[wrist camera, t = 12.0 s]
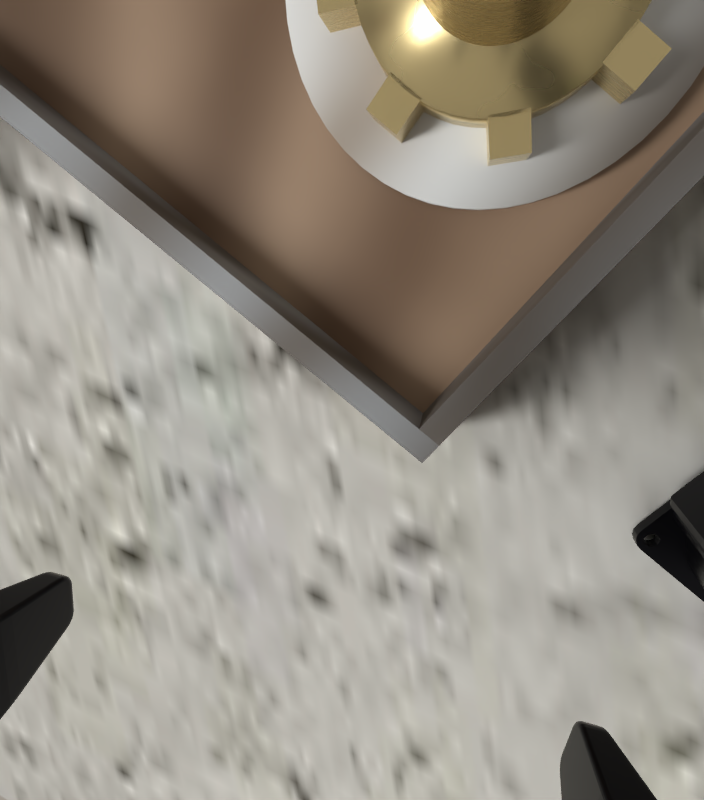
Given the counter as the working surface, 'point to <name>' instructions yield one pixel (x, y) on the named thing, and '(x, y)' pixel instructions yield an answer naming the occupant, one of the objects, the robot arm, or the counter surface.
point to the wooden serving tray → (351, 186)
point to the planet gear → (497, 59)
